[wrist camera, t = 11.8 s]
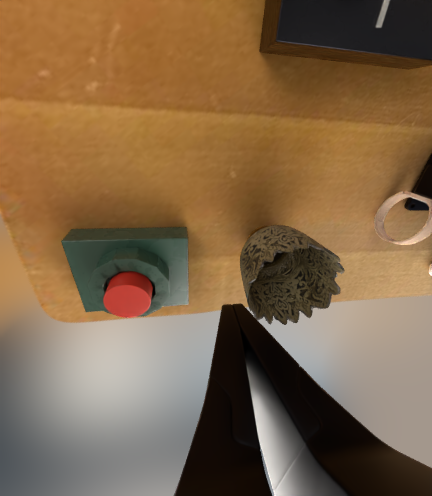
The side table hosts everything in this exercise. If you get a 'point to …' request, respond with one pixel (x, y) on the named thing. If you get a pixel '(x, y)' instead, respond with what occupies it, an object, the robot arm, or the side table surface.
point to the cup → (287, 273)
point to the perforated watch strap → (379, 218)
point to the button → (128, 294)
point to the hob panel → (351, 31)
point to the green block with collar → (129, 262)
